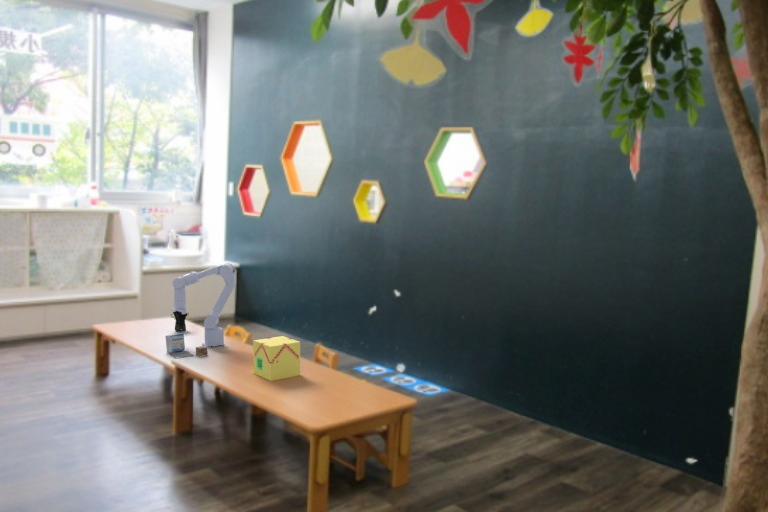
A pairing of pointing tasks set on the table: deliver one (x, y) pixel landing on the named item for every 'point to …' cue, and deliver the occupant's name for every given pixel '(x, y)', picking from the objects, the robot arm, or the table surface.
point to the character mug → (178, 325)
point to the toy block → (276, 358)
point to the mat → (181, 354)
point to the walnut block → (201, 350)
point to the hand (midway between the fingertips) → (180, 325)
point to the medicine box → (175, 342)
